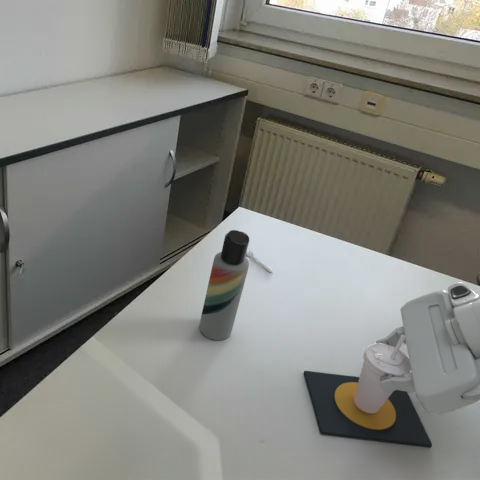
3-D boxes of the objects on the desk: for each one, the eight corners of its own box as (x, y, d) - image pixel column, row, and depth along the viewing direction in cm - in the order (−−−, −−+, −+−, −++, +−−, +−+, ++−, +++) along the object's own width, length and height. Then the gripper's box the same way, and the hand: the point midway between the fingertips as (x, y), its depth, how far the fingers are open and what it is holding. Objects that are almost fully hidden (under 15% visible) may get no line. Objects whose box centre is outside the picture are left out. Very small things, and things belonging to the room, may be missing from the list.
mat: (401, 384, 88) (403, 381, 88) (431, 447, 78) (433, 444, 78) (303, 372, 89) (304, 369, 88) (320, 434, 78) (322, 430, 78)
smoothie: (395, 422, 80) (432, 354, 72) (352, 419, 80) (385, 350, 72) (378, 389, 85) (412, 322, 78) (339, 386, 85) (368, 318, 78)
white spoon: (274, 274, 112) (276, 265, 110) (258, 279, 110) (260, 270, 108) (231, 239, 122) (233, 231, 120) (216, 243, 120) (218, 235, 118)
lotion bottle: (211, 315, 99) (233, 221, 88) (237, 331, 96) (263, 236, 85) (192, 328, 95) (212, 232, 85) (218, 346, 92) (242, 249, 81)
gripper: (516, 409, 63) (397, 436, 71) (477, 306, 80) (384, 337, 87) (491, 372, 62) (373, 403, 69) (457, 275, 79) (364, 308, 86)
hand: (379, 365), depth 79 cm, fingers closed on smoothie, 6 cm apart
